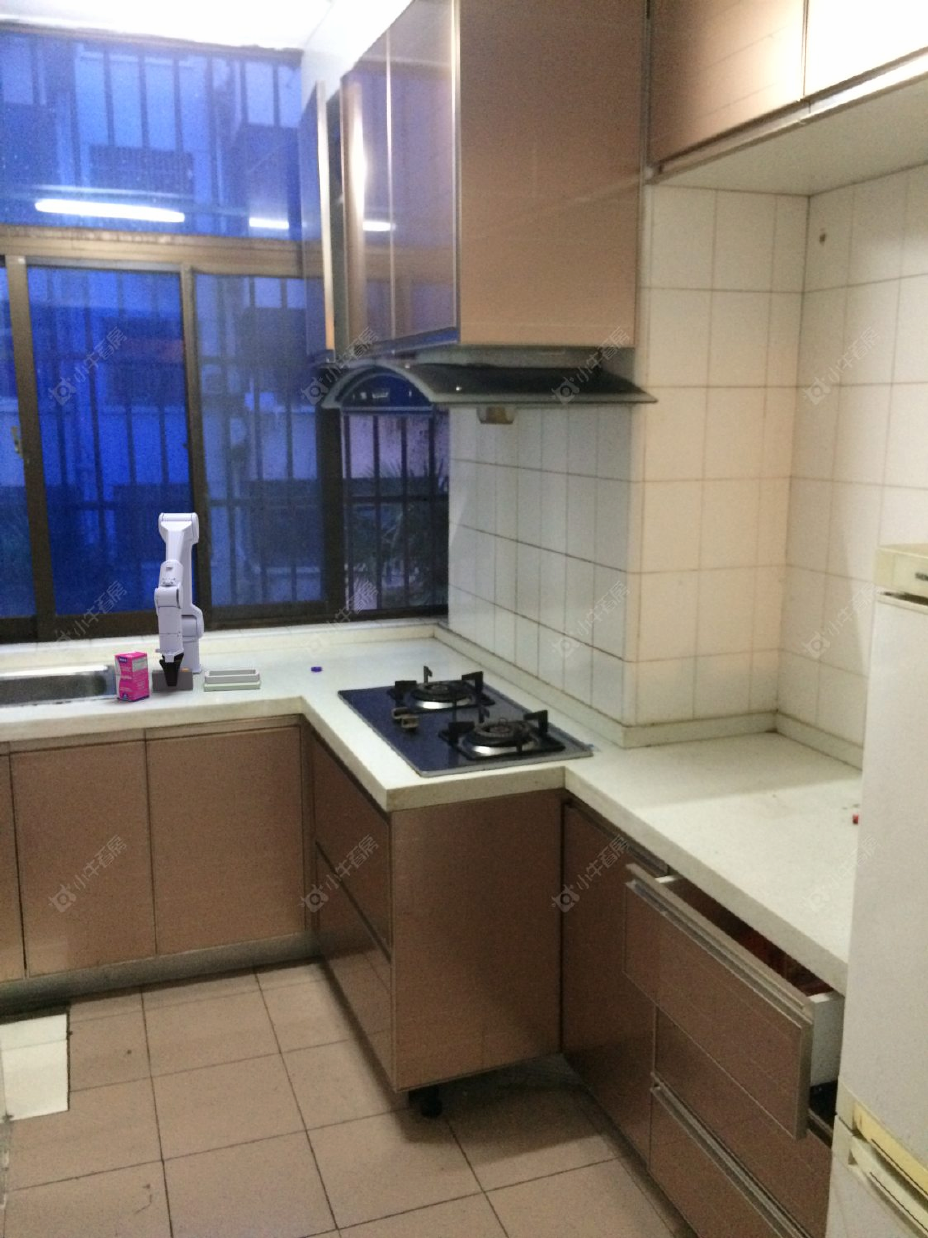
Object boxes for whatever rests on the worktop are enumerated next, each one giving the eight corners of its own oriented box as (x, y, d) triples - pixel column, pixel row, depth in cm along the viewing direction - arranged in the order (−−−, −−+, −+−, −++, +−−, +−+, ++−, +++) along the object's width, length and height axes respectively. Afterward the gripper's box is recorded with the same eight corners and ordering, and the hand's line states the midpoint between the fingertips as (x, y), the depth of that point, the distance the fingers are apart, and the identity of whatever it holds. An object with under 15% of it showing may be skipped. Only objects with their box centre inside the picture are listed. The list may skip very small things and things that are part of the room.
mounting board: (206, 678, 278) (206, 667, 277) (259, 676, 280) (259, 665, 280) (204, 691, 264) (203, 679, 264) (259, 688, 267) (259, 677, 266)
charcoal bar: (153, 688, 268) (152, 669, 267) (193, 686, 270) (192, 667, 269) (152, 692, 264) (151, 672, 263) (192, 690, 266) (192, 670, 265)
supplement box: (116, 699, 256) (113, 654, 254) (133, 694, 261) (131, 650, 259) (133, 702, 253) (130, 657, 251) (150, 697, 259) (148, 652, 256)
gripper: (157, 627, 270) (159, 677, 273) (151, 638, 256) (154, 691, 259) (184, 626, 272) (187, 676, 274) (180, 637, 258) (183, 689, 260)
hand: (173, 683), depth 266 cm, fingers open, 5 cm apart
